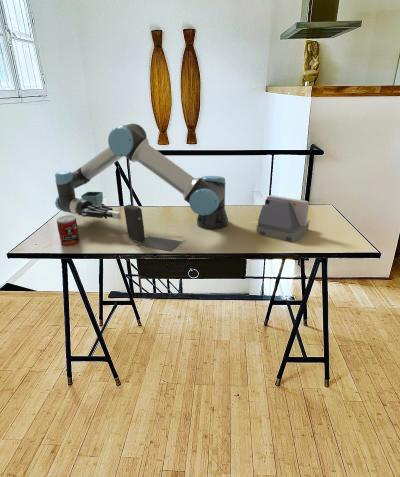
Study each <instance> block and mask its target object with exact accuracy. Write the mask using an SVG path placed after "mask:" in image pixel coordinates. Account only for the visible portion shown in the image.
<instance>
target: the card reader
mask: <svg viewBox="0 0 400 477" xmlns="http://www.w3.org/2000/svg"><path fill="white" fill-rule="evenodd" d="M123 210H124V218H125V223H126V229H127V231H126V232H127V236H128V239H131V240H133V241H135V242H137V243H140V242H142V241H144V240H145V239H146V237H145V236H146V235H145V234H146V233H145V228H144V226H145V225H144V219H143V212H142V209H141V207H138V206H136V205H133V204H127V205H124V206H123Z"/></svg>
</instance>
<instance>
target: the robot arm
mask: <svg viewBox="0 0 400 477" xmlns="http://www.w3.org/2000/svg"><path fill="white" fill-rule="evenodd" d="M107 143H108V146H107V147H106V148H104V149H103V150H102V151H100V152H99V153H98V154H96V155H95V156H93V158H91V159H90V160H88V161H87V162H85V164H83V165H82V166H80V167H79V168H77V169H76V170H74V171H69V170H61V171H57V172H55V174H54V177H55V185H56V189H57V190H56V191H57V194H58V196H57V197H56V198H55V202H54V205H55V207H56V208H57V209H58V210H59V211H62V212H64V213H70V214H74V215H78V216H82V217H84V218H85V217H86V218H87V217H88V218H98V219H103V218H104V219H106V220H107V219H108V218H111V219H114V220H120V219H121V212H119V211H115V210H113V207H110V206H107V205H105V204H104V203H102V204H101V205H100V206H98V205H93V203H92V202H91V201H88V200H83V199H82V198H77V197H76V192H75V189H77V188H80V187H81V186H83V185H86V184H88V183H89V182H90V181H91V180H92V179H94V178H95V177H97V176H98V175H99V174H100V173H102V172H103V171H105V170H106V169H107V168H109V167H111V166H112V165H113V164H114V163H116V162H118V161H119V160H121V159H122V158H124V157H125V158H126V159H128V160H129V161H131V163H137V162H138V163H140V164H141V165H142V166H143V167H144V168H146V169H148V170H149V171H150V172H151V173H152V174H155V175H156V176H157V177H158V178H160V179H161V180H162V181H164V182H165V183H167V184H168V185H169V186H171V187H172V188H173V189H174V190H176V191H178V192H179V193H180V194H181V195H183V200H184V201H185V202H187V203H188V204H189V207H190V209H191V211H193V212H194V213H195V214H197V218H196V225H197V226H198V227H200V228H202V229H206V230H217V229H222V228H225V227H227V226H228V225H229V218H228V214H227V211H226V178H225V177H223V176H218V175H202V176H201V177H194V176H192V175H191V174H189V173H188V172H187V171H185V169H183V168H181V167H180V166H179V165H178V164H176V163H175V162H174V161H172V160H171V159H169V158H168V157H166V155H164V154H162V153H161V152H160V151H158V150H157V149H156V148H154V147H153V146H152V145H150V144H149V143H150V142H149V139H148V138H147V132H146V131H145V129H144V127H142V126H141V125H139V124H137V123H129V124H125V125H118V126H116V127H114V128H113V129H112V130H111V131H110V132H109V134H108V137H107Z"/></svg>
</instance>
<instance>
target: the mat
mask: <svg viewBox="0 0 400 477" xmlns="http://www.w3.org/2000/svg"><path fill="white" fill-rule="evenodd" d="M182 242H183V240H178V239H171V238H166V237H165V238H164V237H158V236H151V235H148V236H147V237H145V240H144V241H142V242H138V243H137V245H136V246H137V247H144V248H149V249H155V250H162V251H166V252H167V251H168V252H173V251H174V250H175V249H176V248H177V247H178V246H179V245H181V243H182Z"/></svg>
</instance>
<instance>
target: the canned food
mask: <svg viewBox="0 0 400 477" xmlns="http://www.w3.org/2000/svg"><path fill="white" fill-rule="evenodd" d="M56 225H57V230H58V235H59V240H60V244H61V245H62V246H66V247H71V246H74V245H77V244H78V243H79V242H80V235H79V228H78V223H77V218H76V216H75V215H63V216H62V215H61V216H58V217H57V218H56Z"/></svg>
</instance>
